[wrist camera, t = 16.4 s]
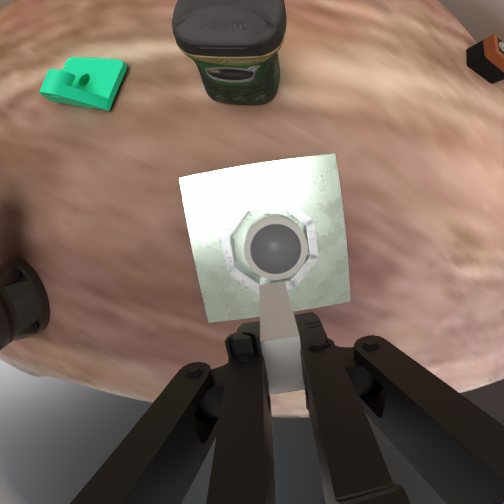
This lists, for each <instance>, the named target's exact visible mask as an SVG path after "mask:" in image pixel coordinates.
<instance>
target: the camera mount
mask: <svg viewBox="0 0 504 504" xmlns="http://www.w3.org/2000/svg"><path fill="white" fill-rule="evenodd" d="M126 70H127V65H126V64H125V63H124V62H122V61H121V60H116V59H103V58H82V57H71V58H69V59H68V60H67V61H66V63H65V65H64V67H63V69H62V70H57V69H49V70H48V73H47V75H46V77H45V80H44V82H43V85H42V87H41V90H40V92H39V93H40V94H41V95H43V96H44V97H46V98H47V99H48V100H50V101H53V102H57V103H64V104H71V105H74V106H80V107H86V108H92V109H94V108H96V109H102V110H107V111H110V108H111V105H112V103H113V100H114V98H115V95H116V93H117V91H118V88H119V86H120V84H121V81H122V79H123V77H124V74H125V72H126ZM87 83H88V84H87Z"/></svg>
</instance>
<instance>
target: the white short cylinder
mask: <svg viewBox="0 0 504 504" xmlns="http://www.w3.org/2000/svg"><path fill="white" fill-rule="evenodd" d="M244 255H245V259H246V261H247V263H248V265H249V267H250V268H251V269H252V270H253V271H254V272H255V273H256V274H258V275H259V276H261V277H263V278H266V279H270V280H281V279H285V278H288V277H290V276H292V275H293V274H295V273H296V272H297V271H298V270H299V269H300V268H301V267H302V265H303V263H304V262H305V259H306V256H307V241H306V238H305V235H304V233H303V232H302V230H301V229H300V228H299V227H298V226H297V225H296V224H295V223H294V222H293V221H292V220H291V219H290V218H288V217H286V216H284V215H281V214H267V215H264V216H262V217H260V218H258V219H257V220H256V221H254V222H253V224H252V225H251V226H250V228H249V230H248V233H247V236H246V239H245V243H244Z"/></svg>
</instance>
